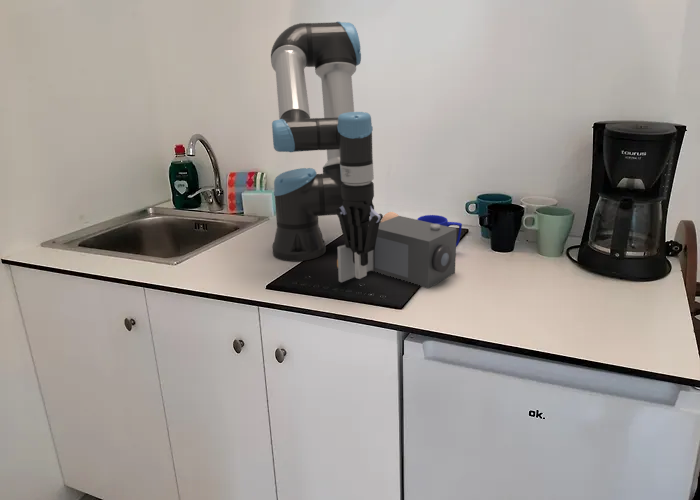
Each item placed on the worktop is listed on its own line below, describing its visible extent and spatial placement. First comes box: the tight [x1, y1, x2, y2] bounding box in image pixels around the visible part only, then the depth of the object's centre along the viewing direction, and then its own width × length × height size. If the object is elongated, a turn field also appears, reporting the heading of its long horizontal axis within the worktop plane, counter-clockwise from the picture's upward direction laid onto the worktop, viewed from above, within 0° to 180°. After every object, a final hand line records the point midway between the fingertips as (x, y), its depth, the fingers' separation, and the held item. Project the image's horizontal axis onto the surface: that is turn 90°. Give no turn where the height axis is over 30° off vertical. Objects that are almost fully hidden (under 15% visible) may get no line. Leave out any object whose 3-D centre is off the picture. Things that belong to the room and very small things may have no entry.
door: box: [336, 244, 374, 283], centre depth 143 cm, size 12×2×10 cm, turn 134°
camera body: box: [372, 215, 458, 289], centre depth 145 cm, size 20×12×13 cm, turn 48°
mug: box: [416, 214, 463, 248], centre depth 158 cm, size 8×12×10 cm
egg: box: [380, 211, 400, 223], centre depth 172 cm, size 7×7×8 cm
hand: (361, 276), depth 139 cm, fingers closed
